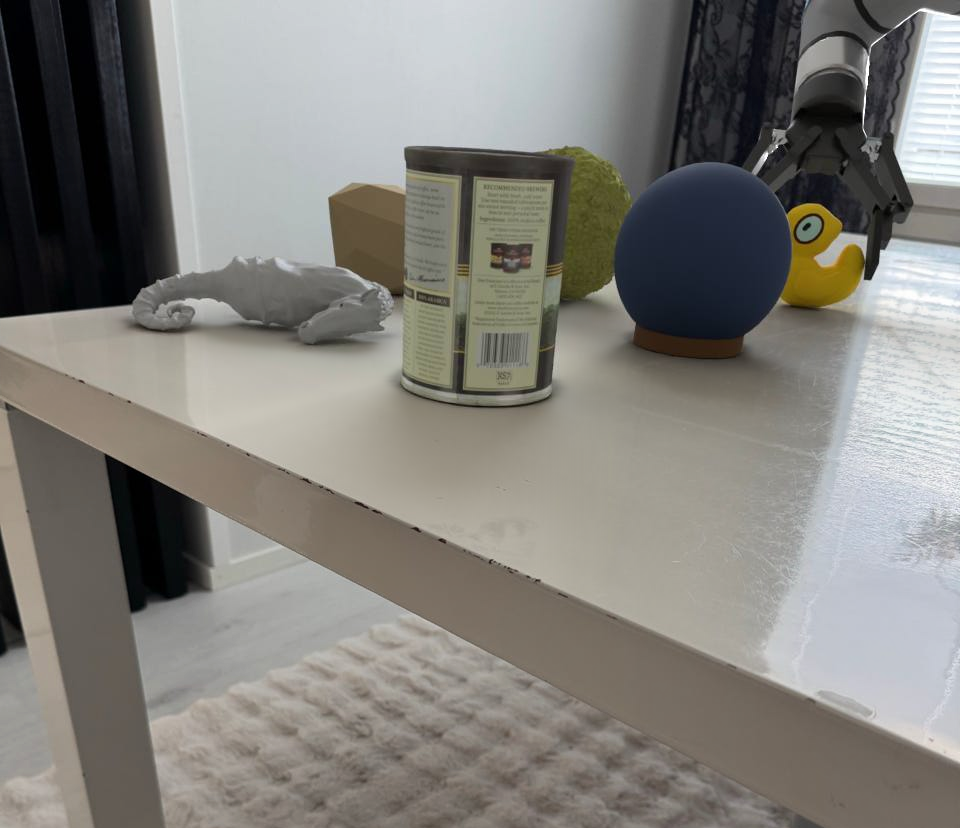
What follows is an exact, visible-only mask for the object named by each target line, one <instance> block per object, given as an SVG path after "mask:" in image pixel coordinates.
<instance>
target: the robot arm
mask: <svg viewBox="0 0 960 828" xmlns="http://www.w3.org/2000/svg"><path fill="white" fill-rule="evenodd" d="M805 1H806V2H805V6H804V10H803V12H802V17H801V21H800V23H801V26H800V29H801V31H800V43H799V51H798V62H797V68H796V69H797V70H796V77H795V84H794V93H793V100H792V107H791V115H790V122H789V123H790V124H789V126H788V128H787V129H786V130H785V129H775V128H774V124H773V123H772V122H770V121H766V122H763V123H762V125H761V130H760V132H759V136H758V141H757V142H756V144H755V145H754V147H753V148H752V150H751V151H750V153H749V155H748V157H747V158H746V159H745V161H744V163H743V164H742V165H741V167H740V168H742V169H744V170H746V171H748V172H750V173H752V174H754V175H755V176H757V175H758V173H759V172H760V170H761V168H762V167H763V165H764V164H765V162H766V160H767V157H768V155H771V154H773V153H774V151H776V150H777V148H778V147H779V145H783V148H784V149H785V151H786V154H785V156H783V157H782V158H781V159H780V160H779V161H778V162H777V163H776V164H775V165H774V166H773V167H771V168H770V169H769V170H768V171H767V172H766V173H765V174H764V175H763V176H762V177H760V179H761V180H762V181H763V182H764V183H765V184H766V185H767V186H769V187H770V189H771V190H772V191H773V192H774V193H776V192H777V191H778V190H779V189H780V188H781V187H782V186H784V184H786V182H788V181H789V180H792V179H794V177H795V176H797V175H798V174H799V173H800V172H801V171H804V174H818V173H819V174H823V175H827V176H835V174H836V175H837V177H838V178H839V179H840V182H842V184H844V185H845V184H847V186H848V187H849V189H850V191H852V192H853V194H854V196H855V197H856V198H857V200H858V201H859V202H860V204H861V205H862V207H863V208H864V209H865V211H866V212H867V213H868V215H869V216H870V218H871V221H870V223H869V225H868V228H867V236H866V237H867V238H866V248H865V249H866V251H865V257H864V258H865V266H864V270H863V281H869V282H870V281H872V280H873V277H874V275H875V273H876V271H877V270H878V267H879V266H880V265H879V264H880V259H881V258H880V257H881V251H886V249H887V247H888V246H889V243H890V242H891V239H892V237H893V225H894V223H896V224H897V225H903V224H905V223H906V221H907V219H908V217H909V215H910V213H911V211H912V209H913V206H914V204H915V202H914V199H913V196H912V194H911V191H910V189H909V186H908V183H907V181H906V179H905V176H904V173H903V170H902V168H901V166H900V164H899V161H898V158H897V156H896V153H895V150H894V140H895V135H894V133H893V132H891V131H884V132H883V133H882V135H881V137H872V136H868V135H867V133H866V132H865V130H864V119H865V109H866V100H867V99H866V98H867V97H866V93H867V89H868V87H867V86H868V76H869V66H870V59H871V49H872V46H874V44H875V43H877V42H878V41H879V40H881V39H882V38H883V37H885V36H886V35H888V34H889V33H891V32H892V31H893V30H895V29H896V28H898V27H900V25H902V24H903V23H904V22H906V21H907V20H908V19H910V18H911V17H912V16H914V15H915V14H916V13H918V12H925V13H930V14H935V15H939V16H945V17H946V16H947V17H950V18H956V19H960V0H805ZM862 152H866V153H867V154H868V156H869V161H870V163H873V164H874V171H875V175H876V176H877V178H876V176H874V174H873V172H872V171H871V170H870V168H869V166H868V165H866V163H865V162H864V156H863V153H862Z"/></svg>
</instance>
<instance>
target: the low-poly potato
mask: <svg viewBox="0 0 960 828" xmlns="http://www.w3.org/2000/svg"><path fill="white" fill-rule="evenodd" d="M405 196H406V189H404V188H402V187H400V186H398V185H396V184H383V183H382V184H381V183H366V182H365V183H364V182H351V183H349V184H347V185H346V186H344V187H343V188H341V189H339V190H338V191H337V192H334V193H333V194H332V195H329V196H328V197H327V200H328V211H329V222H330V224H329V225H330V231H331V238H332V239H331V240H332V247H333V255H334V256H333V257H334V264H335V265H334V266H336V267H340V268H345V269H348V270H350V271H351V272H353V273H355V274H357V275H358V276H360V277H361V278H363V279H365V280H369V281H370V282H376V283H378V284H380V285H381V286H384V287H385V288H387V289H388V291H389V292H390V294H391V295H404V254H405Z"/></svg>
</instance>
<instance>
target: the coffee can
mask: <svg viewBox="0 0 960 828" xmlns="http://www.w3.org/2000/svg"><path fill="white" fill-rule="evenodd" d="M536 152H537V151H522V150H521V151H520V150H509V149H508V150H506V149H495V148H494V149H492V148H479V147H478V148H477V147H462V146H461V147H460V146H458V147H457V146H440V145H407V146H405V147H404V148H403V157H404V161H405V190H406V196H405V254H404V294H403V313H402V315H403V317H402V366H401V367H402V368H401V371H402V372H401V376H400V383H401V385H402V387H403V388H404V389H406V390H407V391H409V392H411V393H413V394H415V395H417V396H420V397H423V398H427V399H430V400H435V401H439V402H443V403H444V402H445V403H452V404H457V405H463V406H473V407H475V406H476V407H477V406H478V407H510V406H519V405H520V406H521V405H526V404H531V403H535V402H539V401H542V400H544V399H546V398H548V397H549V396H550V395H551V394H552V393H553V384H552V383H553V372H554V363H555V362H554V361H555V351H556V339H557V331H558V319H559V310H560V299H561V298H560V289H561V278H562V268H563V258H564V249H565V238H566V228H567V218H568V207H569V196H570V186H571V177H572V173H573V171H574V168H575V161H576V160H575V159H574V158H573V157H569V156H562V155H555V154H546V153H536Z"/></svg>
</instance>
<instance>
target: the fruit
mask: <svg viewBox="0 0 960 828" xmlns="http://www.w3.org/2000/svg"><path fill="white" fill-rule="evenodd" d="M535 152H536V153H546V154H555V155H562V156H569V157H573V158H574V159H575V160H576V161H575V168H574V171H573V173H572V177H571V186H570V196H569V207H568V218H567V228H566V238H565V249H564V258H563V268H562V278H561V289H560V299H565V300H566V301H568V300H570V299H574V300H577V301H578V300H581V299H582V298H583V299H584V298H586V297H587V296H588V295H590V294H592V293H595V292H596V293H597V292H598V291H600V290H602V289H603V288H604V287H605V286H608V285H609V284H610V283H611V282H612V281H613V278H614V277H615V275H614V253H615V247H616V241H617V237H618V234H619V231H620V228H621V225H622V223H623V221H624V219H625V217H626V215H627V213H628V211H629V210H630V208H631V206H632V205H633V201H634V199H633V198H632V197H631V196H630V193H629V191H628V187H627V185H626V183H625V182H624V180H623V177H622V176H621V174H620V172H619V171H618V169H617V168H616V167H615V165H614V164H613V162H612V161H610V160H608V159H605V158H603V157H601V155H598V154H595V153H593V152H591V151H589V150H587V149H586V148H584V147H582V146H575V145H573V146H568V145H567V144H566V145H565V146H564V147H562V148H553V149H552V148H549V149H548V150H543V151H535Z"/></svg>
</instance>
